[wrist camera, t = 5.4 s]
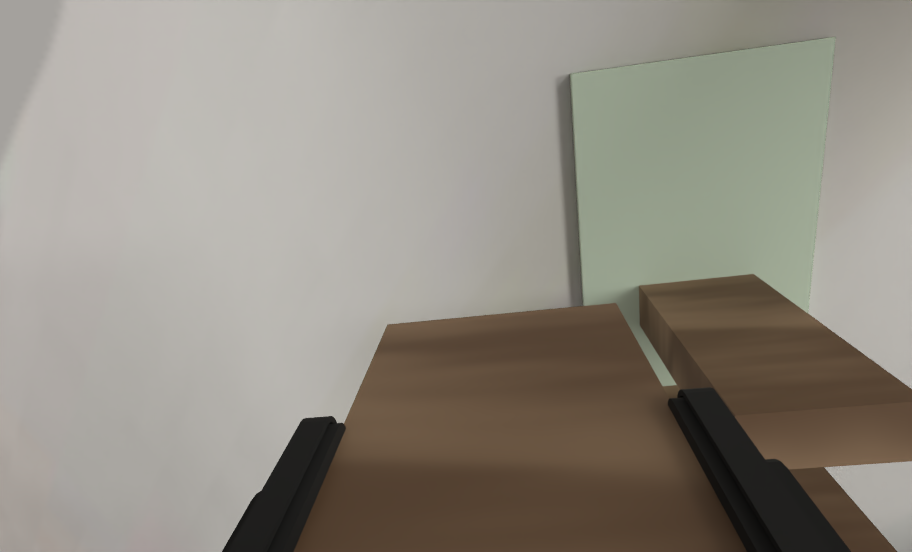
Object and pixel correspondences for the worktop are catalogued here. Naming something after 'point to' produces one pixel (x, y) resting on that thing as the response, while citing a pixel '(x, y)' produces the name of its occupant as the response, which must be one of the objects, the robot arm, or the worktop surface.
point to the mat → (700, 172)
